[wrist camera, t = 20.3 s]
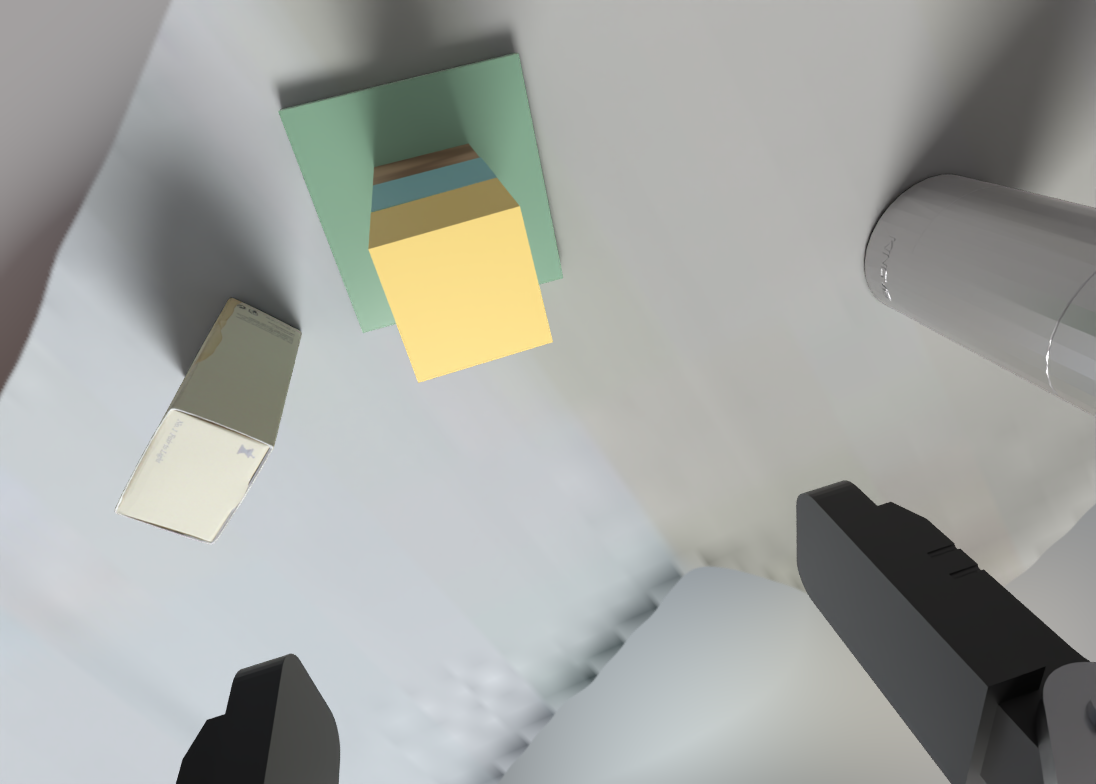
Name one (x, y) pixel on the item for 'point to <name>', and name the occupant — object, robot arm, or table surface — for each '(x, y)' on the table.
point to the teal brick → (429, 183)
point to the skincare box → (216, 427)
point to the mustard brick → (459, 278)
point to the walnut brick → (423, 163)
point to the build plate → (409, 131)
